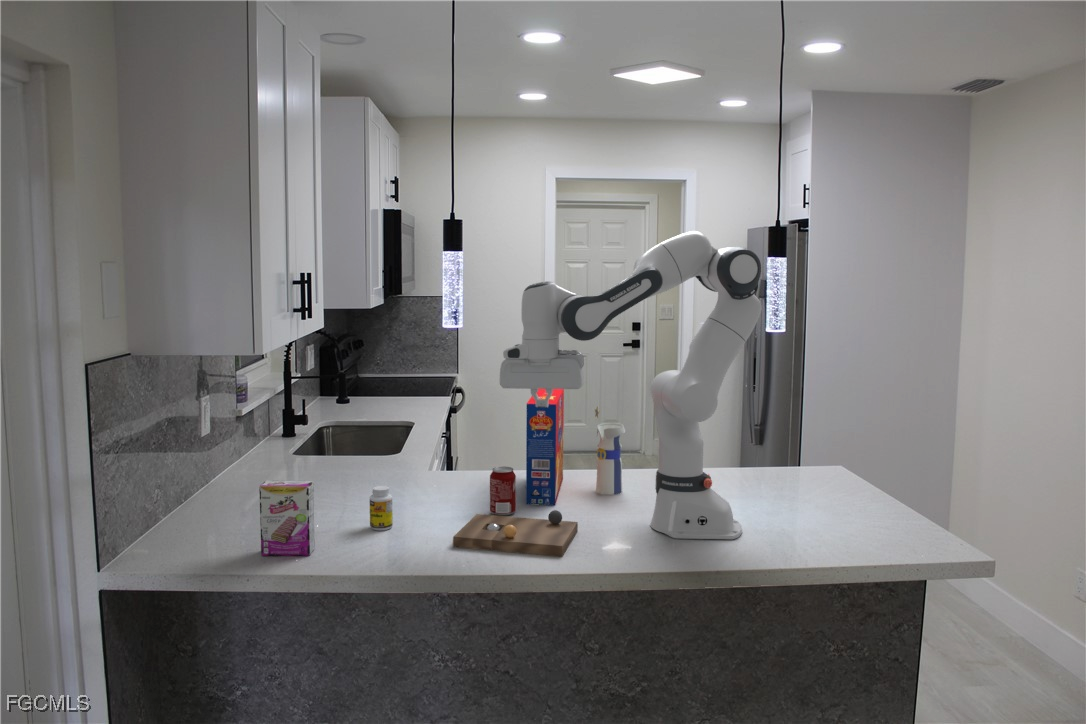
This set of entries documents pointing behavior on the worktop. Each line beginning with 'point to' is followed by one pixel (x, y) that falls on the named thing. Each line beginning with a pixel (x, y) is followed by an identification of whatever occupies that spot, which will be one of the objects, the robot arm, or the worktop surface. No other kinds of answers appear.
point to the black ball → (555, 517)
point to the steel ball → (493, 527)
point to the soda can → (502, 491)
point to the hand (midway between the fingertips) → (542, 406)
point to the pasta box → (544, 448)
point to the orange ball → (510, 531)
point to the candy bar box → (287, 518)
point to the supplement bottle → (381, 509)
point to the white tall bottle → (609, 458)
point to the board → (517, 535)
